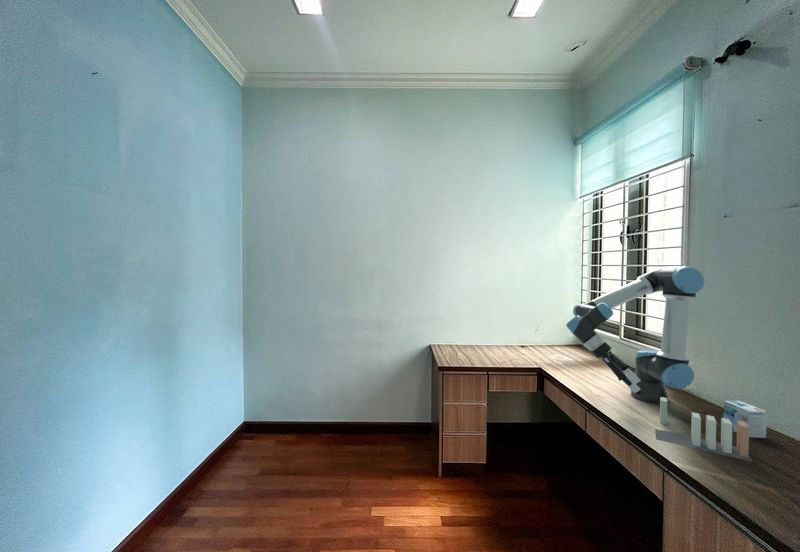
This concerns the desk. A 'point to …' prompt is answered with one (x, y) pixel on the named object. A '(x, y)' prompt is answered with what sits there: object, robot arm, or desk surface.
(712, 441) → the domino
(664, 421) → the domino
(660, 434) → the domino mat
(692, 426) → the domino
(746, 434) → the end domino
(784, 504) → the desk surface
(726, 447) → the domino
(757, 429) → the light bulb box
